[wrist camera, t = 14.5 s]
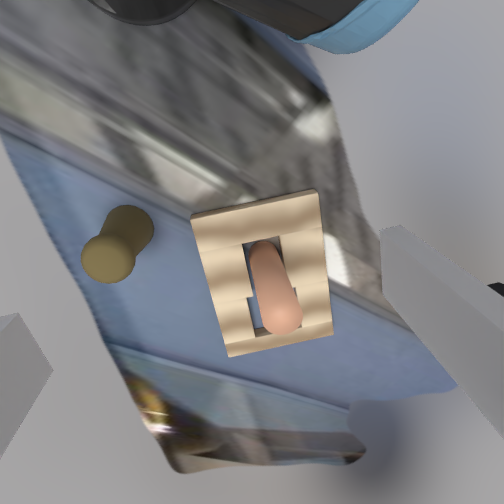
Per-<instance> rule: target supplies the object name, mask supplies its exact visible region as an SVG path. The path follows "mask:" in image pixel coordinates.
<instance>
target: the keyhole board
mask: <svg viewBox="0 0 504 504" xmlns="http://www.w3.org/2000/svg"><path fill="white" fill-rule="evenodd" d="M190 221H191V225H192V228H193V232H194V235H195V239H196V242H197V246H198V250H199V253H200V257H201V260H202V264H203V267H204V271H205V274H206V278H207V282H208V285H209V289H210V292H211V296H212V299H213V303H214V307H215V310H216V314H217V317H218V321H219V324H220V328H221V331H222V335H223V339H224V342H225V346H226V349H227V353H228V356H229V357H233V356H238V355H242V354H247V353H251V352H256V351H261V350H265V349H270V348H274V347H279V346H284V345H288V344H293V343H297V342H302V341H307V340H311V339H316V338H320V337H325V336H330V335H334V333H333V324H332V315H331V306H330V297H329V288H328V279H327V270H326V261H325V251H324V242H323V233H322V224H321V215H320V206H319V197H318V192H317V191H316V190H314V189H311V190H306V191H302V192H297V193H292V194H288V195H283V196H278V197H273V198H269V199H264V200H259V201H255V202H250V203H245V204H240V205H236V206H231V207H226V208H222V209H217V210H212V211H208V212H203V213H198V214H193V215H191V218H190ZM275 236H278V238H279V243H280V249H281V255H282V261H283V266H284V268H285V271H286V273H287V276H288V278H289V280H290V283H291V285H292V288H293V287H294V291H295V295H296V297H297V300H298V302H299V304H300V307H301V309H302V312H303V320H302V323H301V324H300V326H299V327H298V328H297V329H296V330H295V331H293V332H291V333H289V334H285V335H276V334H273V333H270V332H269V331H268V330H267V329H266V328H265V327H263V328H258V329H254V328H253V323H252V319H251V315H250V310H249V306H248V302H247V297H252V296H253V293H252V288H251V283H250V279H249V274H248V270H247V265H246V261H245V256H244V251H243V247H242V244H243V243H247V242H252V241H257V240H261V239H266V238H271V237H275Z"/></svg>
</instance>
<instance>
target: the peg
mask: <svg viewBox="0 0 504 504" xmlns="http://www.w3.org/2000/svg"><path fill="white" fill-rule="evenodd" d="M248 257H249V262H250V266H251V271H252V275H253V280H254V285H255V289H256V294H257V299H258V303H259V308H260V313H261V317H262V322H263V325H264V327H265V328H266V329H267V330H268V331H269V332H270V333H273V334H276V335H285V334H289V333H291V332H293V331H295V330H296V329H297V328H298V327H299V326H300V324H301V323H302V320H303V312H302V309H301V307H300V304H299V302H298V300H297V297H296V295H295V292H294V290H293V288H292V285H291V283H290V280H289V278H288V276H287V273H286V271H285V268H284V266H283V264H282V261H281V259H280V256H279V254H278V251H277V249H276V247H275V246H274V245H273V244H272V243H270V242H268V241H260V242H257V243H255V244H254V245H253V246H252V247H251V248H250V250H249V253H248Z"/></svg>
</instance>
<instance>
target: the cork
mask: <svg viewBox="0 0 504 504" xmlns="http://www.w3.org/2000/svg"><path fill="white" fill-rule="evenodd" d="M153 233H154V226H153V222H152V220H151V218H150V217H149V215H148V214H147V213H146V212H145V211H143V210H142V209H140V208H138V207H136V206H131V205H123V206H119V207H116V208H114V209H113V210H112V211H111V212H110V213H109V214H108V216H107V218H106V220H105V222H104V224H103V227H102V229H101V231H100V233H99V235H97V236H95V237H93V238H91V239H90V240H89V241H88V242H87V243H86V244H85V246H84V248H83V250H82V252H81V264H82V267H83V269H84V270H85V272H86V273H87V274H88V276H90V277H91V278H92V279H94V280H96V281H98V282H101V283H108V284H110V283H117V282H119V281H122V280H124V279H125V278H126V277H127V276H128V275H129V274H131V272H132V270H133V268H134V266H135V260H136V256H137V255H138V254H139V253H140V252H141V251H142V250H143V248H144V247H145V246H146V245H147V244H148V243H149V242H150V241H151V239H152V237H153Z"/></svg>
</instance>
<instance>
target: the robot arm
mask: <svg viewBox="0 0 504 504" xmlns="http://www.w3.org/2000/svg"><path fill="white" fill-rule="evenodd" d="M88 1H89V2H91V3H92V4H93V5H94V6H96V7H97V8H98V9H100V10H101V11H103V12H104V13H106V14H107V15H109V16H111V17H113V18H115V19H118V20H120V21H123V22H126V23H130V24H135V25H156V24H160V23H164V22H167V21H170V20H172V19H174V18H176V17H177V16H179V15H181V14H182V13H183V12H185V11H186V10H187V9H188V8H189V7H190V6H191V5H192V4H193V3H194V2H195V1H196V0H88ZM213 1H215V2H217V3H220V4H222V5H224V6H226V7H228V8H231V9H233V10H235V11H237V12H239V13H242V14H244V15H246V16H248V17H250V18H253V19H255V20H257V21H259V22H261V23H263V24H266V25H268V26H270V27H272V28H274V29H277V30H279V31H281V32H283V33H285V34H286V36H287V37H288V38H289V39H290V40H292V41H294V42H296V43H302V44H307V43H308V44H310V45H313V46H316V47H318V48H320V49H323V50H325V51H328V52H331V53H334V54H350V53H355V52H358V51H361V50H363V49H365V48H367V47H368V46H370V45H372V44H374V43H375V42H376V41H378V40H379V39H381V38H382V37H383V36H384V35H386V34H387V33H388V32H389V31H390V30H391V29H392V28H394V27H395V26H396V25H397V24H398V23H399V22H400V21H401V20H402V19H403V18H404V17H405V16H406V15H407V14H408V13H409V12H410V11H411V9H412V8H413V7H414V6H415V5H416V4H417V3H418V1H419V0H213ZM380 248H381V268H382V288H383V295H384V297H385V298H386V299H387V300H388V301H389V303H390V304H391V305H392V306H393V307H394V309H395V310H396V311H397V312H398V313H399V315H400V316H401V317H402V318H403V319H404V321H405V322H406V323H407V324H408V325H409V327H410V328H411V329H412V330H413V331H414V333H415V334H416V335H417V336H418V337H419V338H420V340H421V341H422V342H423V343H424V344H425V346H426V347H427V348H428V349H429V350H430V352H431V353H432V354H433V355H434V356H435V358H436V359H437V360H438V361H439V362H440V364H441V365H442V366H443V367H444V368H445V370H446V371H447V372H448V373H449V374H450V376H451V377H452V378H453V379H454V380H455V382H456V383H457V384H458V385H459V386H460V387H461V389H462V390H463V391H464V392H465V393H466V394H467V396H468V397H469V398H470V399H471V401H472V402H473V403H474V404H475V405H476V407H478V409H479V410H480V411H481V413H482V414H483V415H484V416H485V417H486V419H487V420H488V421H489V422H490V423H491V425H492V426H493V427H494V428H495V429H496V431H497V432H498V433H499V434H500V435H501V436H502V438H503V439H504V284H502V283H494V284H490V285H485V284H484V283H483V282H481V281H480V280H478V279H477V278H476V277H474V276H473V275H471V274H469V273H468V272H467V271H466V270H464V269H463V268H461V267H460V266H458V265H457V264H456V263H454V262H453V261H451V260H450V259H448V258H447V257H445V256H444V255H443V254H441V253H440V252H438V251H437V250H436V249H434V248H433V247H431V246H430V245H428V244H427V243H426V242H424V241H423V240H421V239H420V238H418V237H417V236H415V235H414V234H412V233H411V232H410V231H408V230H407V229H405V228H404V227H403V226H401V225H399V226H395V227H390V228H386V229H382V230H380ZM52 372H53V369H52V367H51V365H50V364H49V362H48V360H47V359H46V357H45V356H44V354H43V352H42V351H41V349H40V347H39V346H38V344H37V342H36V341H35V339H34V337H33V336H32V334H31V333H30V331H29V329H28V328H27V326H26V325H25V323H24V321H23V319H22V318H21V316H20V314H19V313H16V314H11V315H7V316H2V317H0V459H1V457H2V455H3V453H4V452H5V450H6V449H7V447H8V445H9V443H10V442H11V440H12V438H13V437H14V435H15V433H16V431H17V430H18V428H19V427H20V425H21V423H22V422H23V420H24V418H25V417H26V415H27V413H28V412H29V410H30V408H31V407H32V405H33V403H34V402H35V400H36V398H37V397H38V395H39V393H40V392H41V390H42V388H43V387H44V385H45V383H46V382H47V380H48V378H49V377H50V375H51V373H52Z"/></svg>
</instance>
